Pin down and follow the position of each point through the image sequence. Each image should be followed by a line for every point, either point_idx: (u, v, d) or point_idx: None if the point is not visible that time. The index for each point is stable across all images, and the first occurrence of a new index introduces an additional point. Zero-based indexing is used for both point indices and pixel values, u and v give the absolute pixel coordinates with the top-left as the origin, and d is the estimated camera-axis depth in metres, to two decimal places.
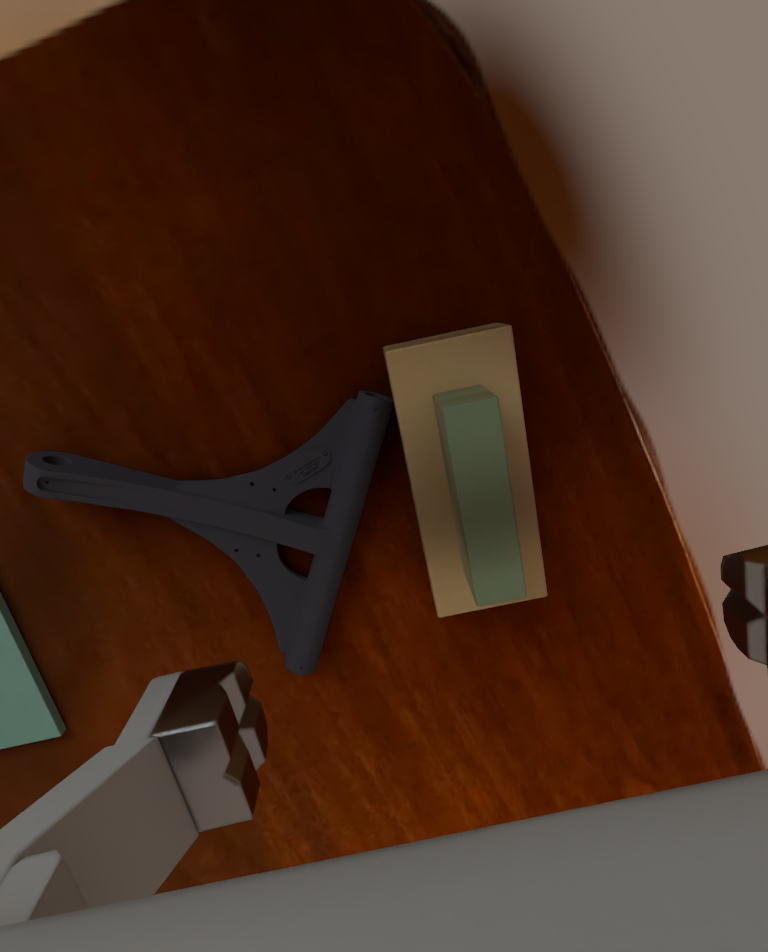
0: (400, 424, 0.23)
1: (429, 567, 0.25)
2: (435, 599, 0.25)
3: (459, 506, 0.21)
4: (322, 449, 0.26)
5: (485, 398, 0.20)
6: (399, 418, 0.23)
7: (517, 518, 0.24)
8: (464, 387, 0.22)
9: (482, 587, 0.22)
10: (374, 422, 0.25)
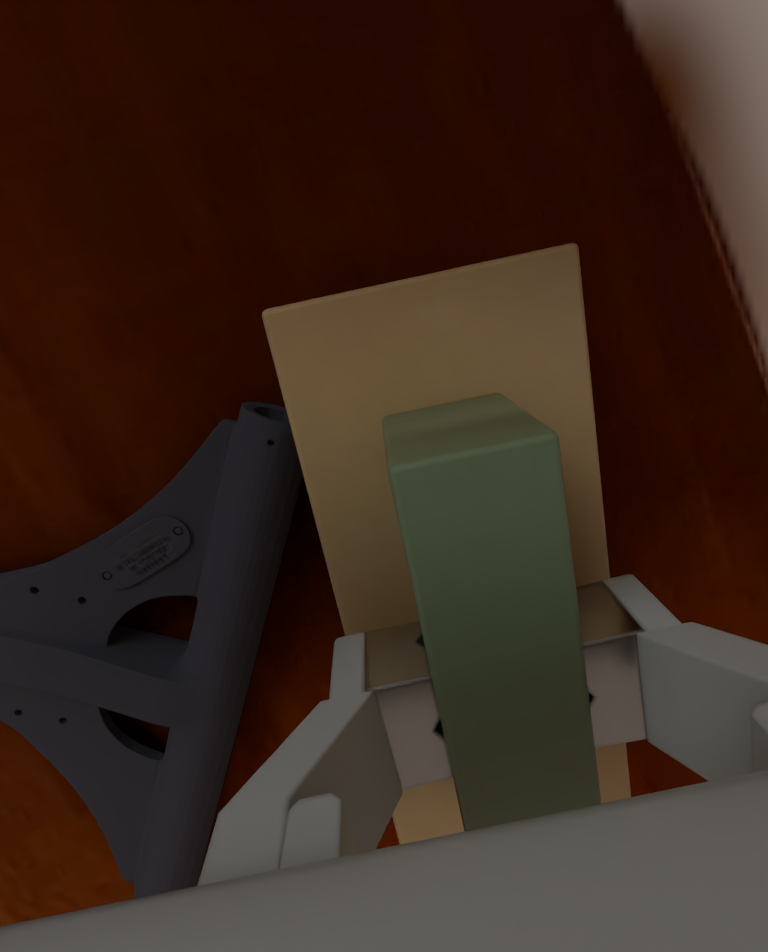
0: (308, 486, 0.10)
1: None
2: (400, 840, 0.12)
3: (443, 726, 0.08)
4: (172, 522, 0.13)
5: (519, 437, 0.07)
6: (305, 472, 0.10)
7: None
8: (459, 399, 0.09)
9: None
10: (269, 470, 0.12)
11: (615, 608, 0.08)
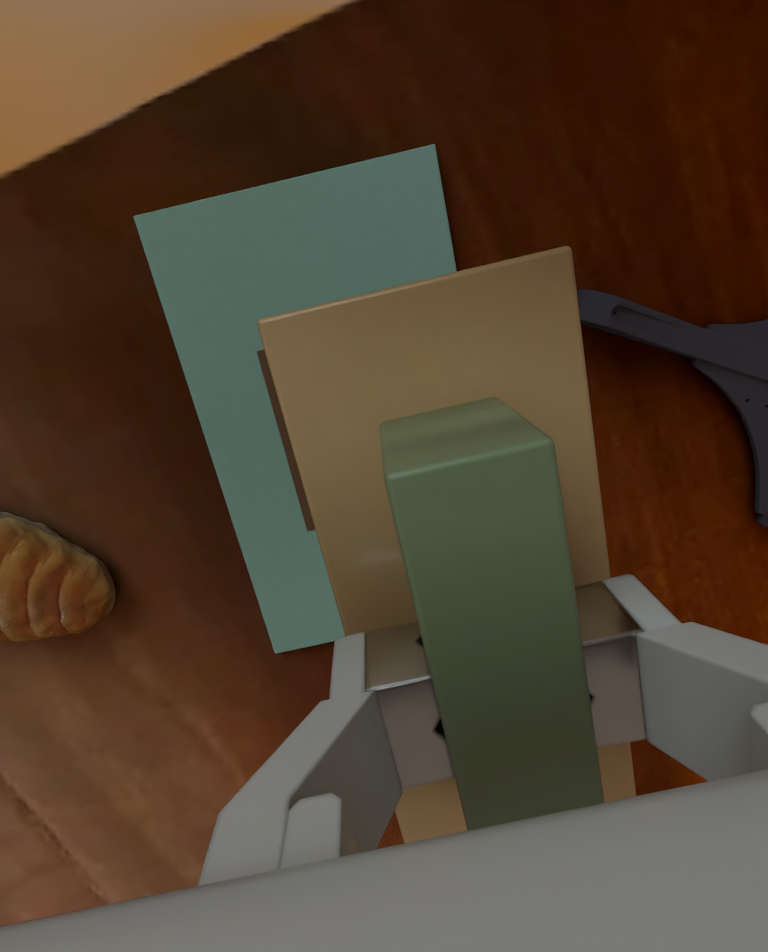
0: (307, 493, 0.10)
1: None
2: None
3: (446, 732, 0.08)
4: None
5: (515, 444, 0.07)
6: (304, 479, 0.10)
7: None
8: (456, 404, 0.09)
9: None
10: None
11: (614, 608, 0.08)
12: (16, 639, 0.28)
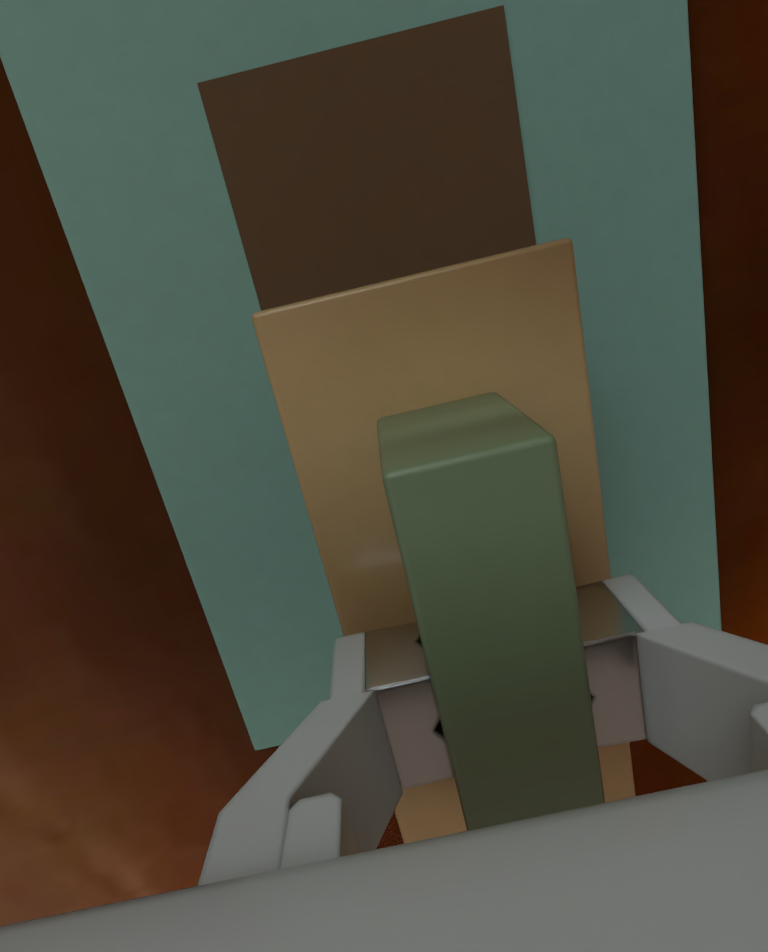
0: (303, 490, 0.10)
1: None
2: (405, 840, 0.12)
3: (445, 732, 0.08)
4: None
5: (516, 441, 0.06)
6: (300, 476, 0.09)
7: None
8: (454, 399, 0.09)
9: None
10: None
11: (614, 608, 0.08)
12: None
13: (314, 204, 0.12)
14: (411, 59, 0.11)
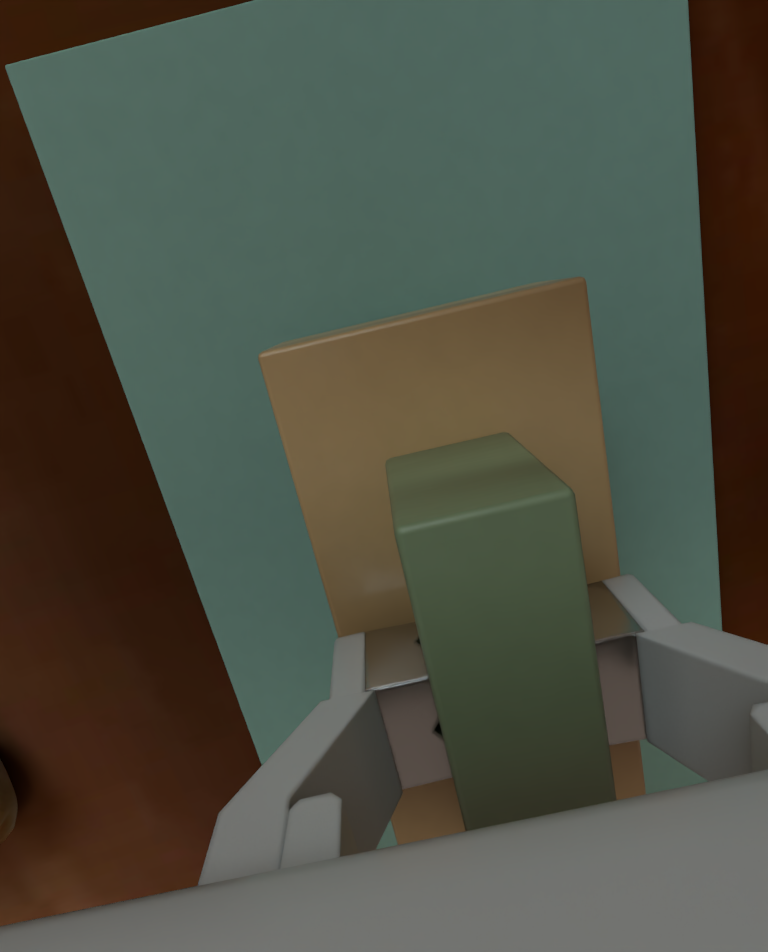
0: (310, 531, 0.09)
1: (396, 831, 0.11)
2: None
3: (458, 793, 0.07)
4: None
5: (533, 495, 0.06)
6: (306, 517, 0.09)
7: None
8: (465, 440, 0.09)
9: None
10: None
11: (614, 608, 0.08)
12: None
13: None
14: None
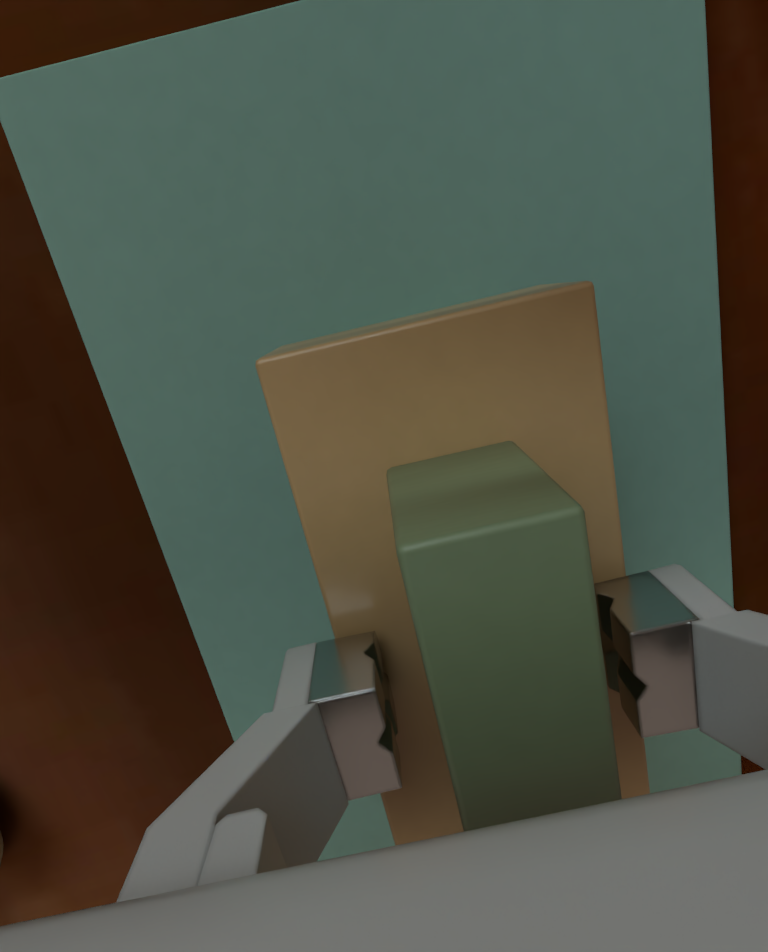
0: (309, 542, 0.09)
1: (397, 844, 0.11)
2: None
3: (462, 816, 0.07)
4: None
5: (541, 512, 0.06)
6: (305, 528, 0.09)
7: None
8: (469, 448, 0.09)
9: None
10: None
11: (666, 597, 0.08)
12: None
13: None
14: None
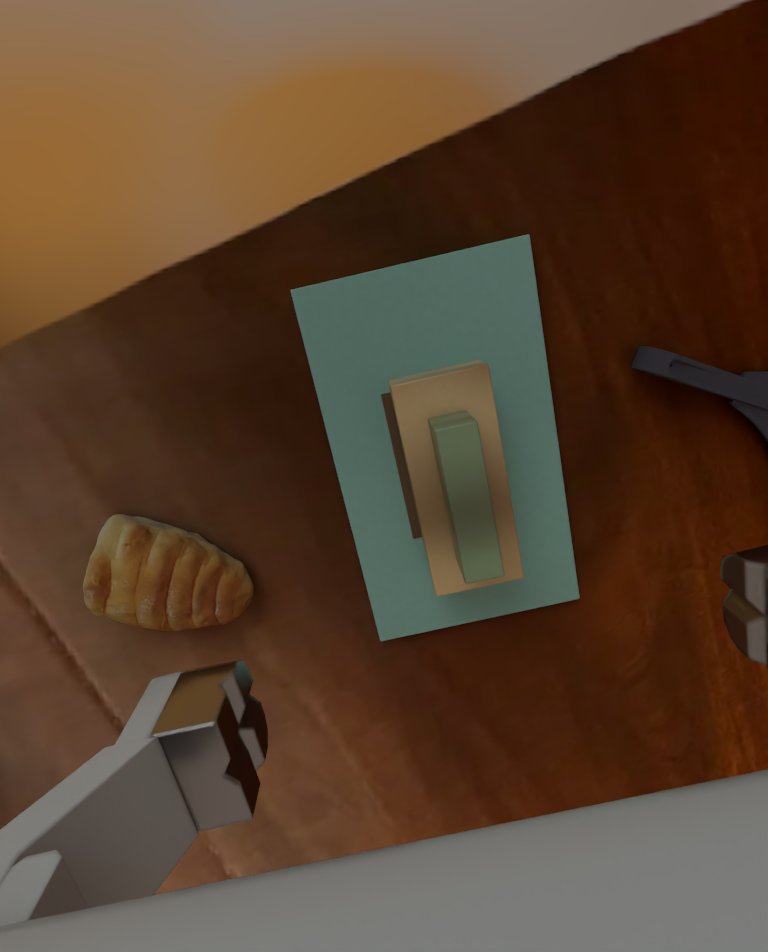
0: (403, 442, 0.29)
1: (428, 555, 0.31)
2: (433, 581, 0.31)
3: (450, 505, 0.27)
4: None
5: (467, 422, 0.26)
6: (402, 437, 0.29)
7: (497, 515, 0.30)
8: (452, 412, 0.29)
9: (469, 568, 0.28)
10: None
11: None
12: (176, 628, 0.34)
13: None
14: None
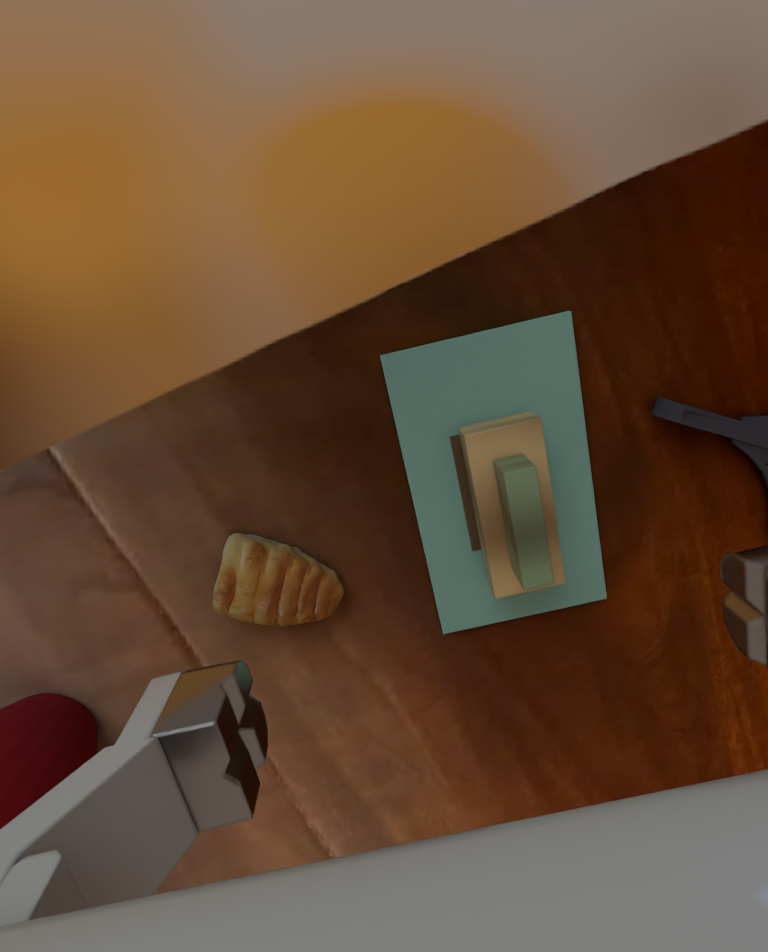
0: (472, 478, 0.37)
1: (489, 566, 0.39)
2: (493, 586, 0.39)
3: (513, 529, 0.35)
4: None
5: (528, 467, 0.34)
6: (472, 474, 0.37)
7: None
8: (512, 455, 0.36)
9: (527, 577, 0.36)
10: None
11: None
12: (282, 624, 0.42)
13: None
14: None
